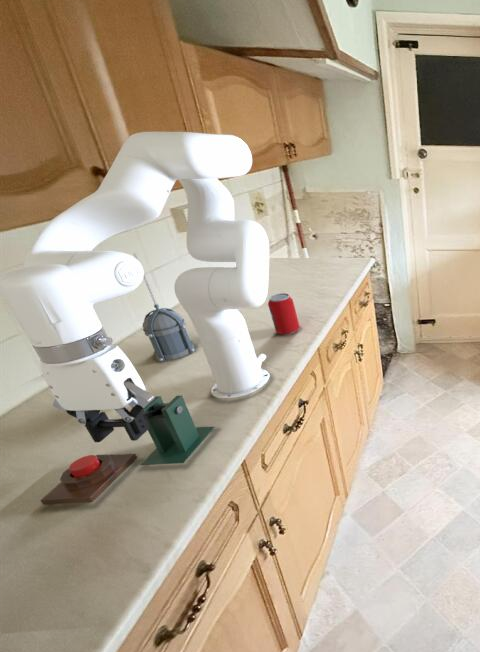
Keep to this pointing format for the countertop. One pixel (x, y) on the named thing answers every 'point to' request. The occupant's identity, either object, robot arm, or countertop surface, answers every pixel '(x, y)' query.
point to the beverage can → (283, 313)
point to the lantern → (167, 333)
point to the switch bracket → (173, 433)
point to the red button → (84, 466)
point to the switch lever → (119, 422)
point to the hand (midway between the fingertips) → (122, 434)
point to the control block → (89, 481)
